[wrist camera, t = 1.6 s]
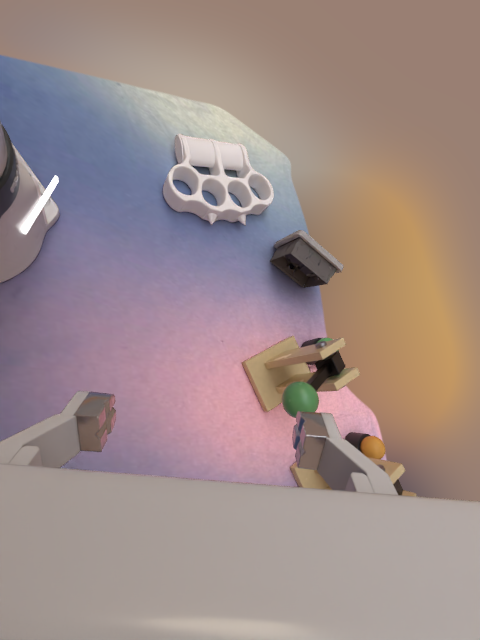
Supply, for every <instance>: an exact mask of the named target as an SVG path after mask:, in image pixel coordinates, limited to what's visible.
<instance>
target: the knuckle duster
mask: <svg viewBox="0 0 480 640" xmlns="http://www.w3.org/2000/svg"><path fill="white" fill-rule="evenodd" d="M175 154H176V158H177V161H178V164H177V165H175V166H174V167H172V168H171V170H170V171H169V173H168V176H167V178H166V180H165V183H164V185H163V195H164V198H165V200H166V202H167V203H168V205H169V206H170V207H171V208H173V209H174V210H175V211H177V212H191V213H194V214H196V215H198V216H199V217H200V218H202V219H204V220H207V221H209V222H210V223H211V225H212V224H213V222H215V221H217V220H227V221H230V222H236V221H240V222H241V223H242V224H244V225H246V215H248V214H255V215H259V214H261V213H262V212H263V211H264V210H265V209H266V208H267V207H268V206H269V205H270V204H271V202H272V200H273V197H274V192H273V188H272V185H271V184H270V182H269V181H268V179H267V178H266V177H265V176H263V175H262V174H260V173H258V172H256V171H255V170H254V169H253V168H252V167H251V165H250V162H249V158H248V153H247V150H246V148H245V146H244V145H242V144H241V143H238V144H233V143H227V142H220V141H214V140H213V139H209V140H208V139H201V138H195V137H188V136H183V135H182V134H178V135H176V137H175ZM192 166H199V167H209V171H210V175H203V174H200V173H198V171H197V170H196V169H195V168H193V167H192ZM224 169H227V170H236V171H237V176H238V177H239V178H234V177H228V176H227V175H226V174H225V172H224ZM173 180H181V181H183V182H185V183H186V184H187V185H188V186H189V187H190V189H191V192H192V195H184V194H182V193H180V192H179V191H178V190H177V189H176V188H175V186H174V184H173ZM249 186H250V187H252V188H253V189H255V191H256V192H257V193H258V195H259V197H260V199H259V198H257V197H256V196H255V195H254V194H253V193H252V191H251V189H250V187H249ZM202 190H204V191H208V192H210V193H211V194H213V195H214V197H215V198H216V200H217V206H213V205H210V204H209V203H207V202H206V201H205V199H204V198H203V196H202ZM228 192H230V193H232V194H234V195H235V196H236V197H237V198H238V200H239V201H240V203H241V205H242V207H239V206H237V205H236V204H235V203H234V202H233V201H232V199H231V197H230V195H229V193H228Z"/></svg>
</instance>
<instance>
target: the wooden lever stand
mask: <svg viewBox="0 0 480 640" xmlns="http://www.w3.org/2000/svg"><path fill="white" fill-rule="evenodd" d="M345 345H346V343H345V340H344V338H339V339H335V340H330V341H322V342H319V343H317V344H313V345H309V346H305V347H301V348H299V346H298V344H297V342H296V340H295V338H294V336H291V337H288V338H286V339H284V340H283V341H281V342H279V343H277V344H275V345H273V346H271V347H270V348H268V349H266V350H264V351H262V352H260V353H259V354H257V355H255V356H253V357H251V358H249V359H247V360H246V361H244V362H242V365H243V367H244V369H245V371H246V373H247V376H248V378H249V380H250V382H251V384H252V386H253V389H254V391H255V393H256V395H257V397H258V399H259V402H260V404H261V406H262V408H263V410H264V412H269V411H270V410H272V409H273V408H275V407H276V406H278V405H279V404H280V403H282V394H283V392H284V390H285V388H286V387H287V386H288V385H290V384H291V383H293V382H298V381H301V382H307V381H308V380H309V379H310V378H311V377H312V376H313V375H314V373H315V372H313V373H311V372H310V370H309V368H308V366H307V364H306V362H311V361H317V360H323V359H325V358H326V357H328V356H329V355H331V354H333V353H334V352H336V351H337V350H339V349H340V348H342V347H344V346H345ZM358 375H360V373H359V371H358V368H357V367H354V368H346V369H343V370H342V372H341V373H340V374H339V375H336V376H332V377H329V378H327V379H326V380H325V381H324V383H323V384H322V385H321V386H320V388H319V389H318V390H317V391H316V392H320V391H338V390H339V389H341V388H343V387H344V386H345V385H346V384H347V383H349V382H350V381H351V380H353V379H354V378H356V377H357V376H358Z"/></svg>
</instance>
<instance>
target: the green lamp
mask: <svg viewBox="0 0 480 640" xmlns="http://www.w3.org/2000/svg"><path fill="white" fill-rule="evenodd" d="M330 340H333V339H330V338H317V339H313V340H309V341H306V342H304V343H303V344H302V346H301V347H305V346H309V345H313V344H317V343H319V342H322V341H330ZM337 351H339V350H337ZM315 362H316V361H311V362H306V363H307V364H310V365H313V364H315Z"/></svg>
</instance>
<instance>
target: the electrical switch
mask: <svg viewBox="0 0 480 640" xmlns="http://www.w3.org/2000/svg"><path fill="white" fill-rule="evenodd" d="M274 247H275V248H276V249H277V250H276V251H275V253H274V256H273V257H272V259H271V260H270V262H271V263H273V264H274V265H275V266H276V267H278V268H279V269H280V270H281V271H283V272H284V273H285V274H286V275H288V276H289V277H290V278H291V279H293V280H294V281H295V282H296V283H297V284H299V285H300V286H301V287H303V286H304V287H311V286H317V285H323V284H327V283H328V282H329V280H330V278H331V277H332V276H333V275H334V273H335V272H336V273H339V272H341V271H342V269H343V265H342V264H341V263H340V262H339V261H338V260H336V258H334V257H333V256H332V255H331V254H330V253H329V252H327V251H326V250H325V249H324V248H323V247H322V246H320V245H319V244H318V243H317V242H316V241H315V240H313V239H312V238H311V237H310V236H309V235H308V234H307V233H306V232H304V231H302V230H298V231H296V232H295V233H293V234H291V235H289V236H287V237H285V238H283V239H281V240H279V241H277V242H276V243H275V245H274ZM287 263H288V265H287ZM291 263H292V264H293V265H294V268H293V269H290V268H289V266H290V264H291ZM295 269H296V271H295ZM294 271H295V272H294ZM306 275H307V276H306ZM303 277H304V278H303ZM304 284H305V285H304ZM304 287H303V288H304Z"/></svg>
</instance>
